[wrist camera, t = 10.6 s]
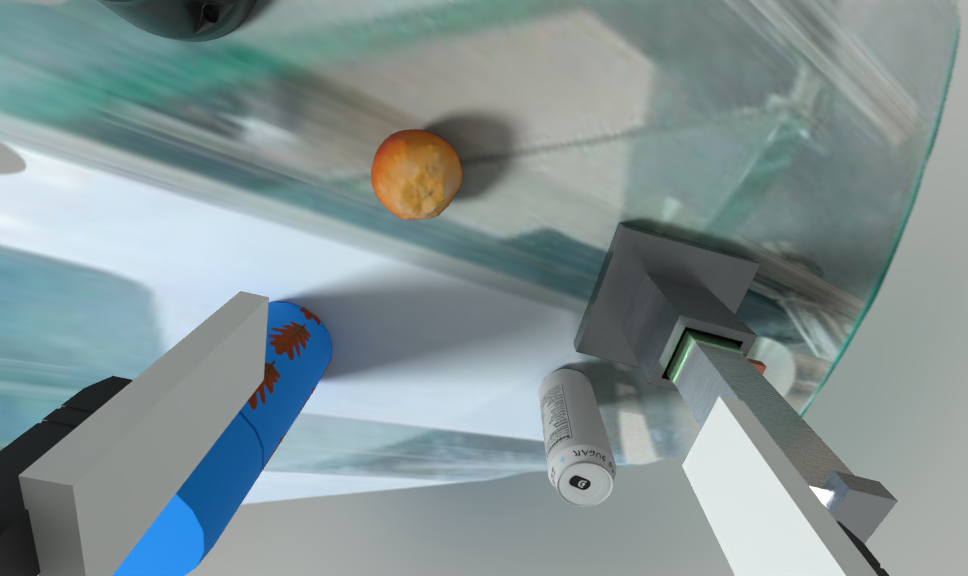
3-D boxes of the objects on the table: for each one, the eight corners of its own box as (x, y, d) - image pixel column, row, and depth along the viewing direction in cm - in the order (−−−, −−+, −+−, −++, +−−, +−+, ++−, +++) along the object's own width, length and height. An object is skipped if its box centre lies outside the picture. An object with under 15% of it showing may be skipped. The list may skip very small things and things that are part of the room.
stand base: (619, 222, 48) (656, 264, 36) (750, 258, 49) (830, 310, 37) (573, 342, 53) (593, 414, 41) (693, 373, 54) (746, 451, 42)
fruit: (406, 90, 43) (427, 132, 37) (461, 145, 48) (486, 188, 43) (345, 152, 45) (357, 200, 40) (405, 198, 50) (422, 245, 45)
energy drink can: (574, 416, 57) (596, 521, 43) (528, 396, 56) (537, 496, 42) (601, 377, 54) (634, 474, 41) (554, 356, 54) (571, 447, 40)
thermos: (352, 341, 54) (237, 526, 31) (301, 400, 57) (163, 608, 34) (269, 281, 52) (78, 432, 28) (221, 346, 55) (14, 530, 32)
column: (677, 301, 42) (831, 485, 22) (723, 313, 42) (915, 505, 22) (649, 363, 44) (766, 578, 24) (693, 374, 44) (842, 595, 25)
